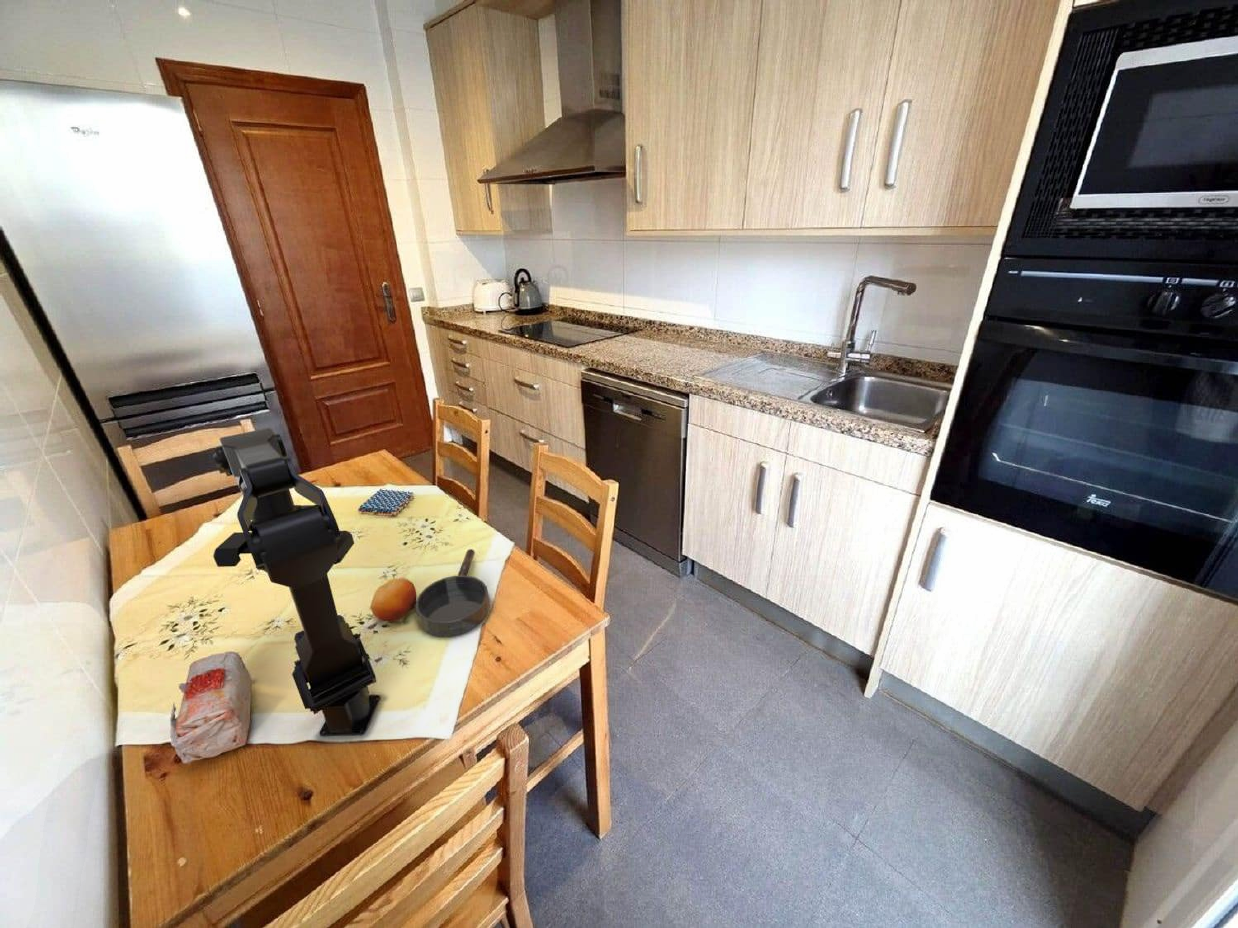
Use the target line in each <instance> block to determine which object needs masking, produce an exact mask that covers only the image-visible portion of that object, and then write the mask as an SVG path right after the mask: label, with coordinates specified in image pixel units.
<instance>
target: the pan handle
mask: <svg viewBox="0 0 1238 928" xmlns="http://www.w3.org/2000/svg"><path fill="white" fill-rule="evenodd" d="M475 554H476V552H475V550H474V549H472V548H470V549H467V551H466V552H465V555H464V558H463V560H462V563H461V564H460V568H459V571H458V573H457V576H464V575H466V576H469V573H470V569H471V566H472V563H473V561H474V558H475Z"/></svg>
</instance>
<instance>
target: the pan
mask: <svg viewBox="0 0 1238 928" xmlns="http://www.w3.org/2000/svg"><path fill="white" fill-rule="evenodd" d="M415 607H416V609H415V612H416V613H415V614H416V617H417V621H418V624H419V627H420V628H421V630H422V631H423V632H425V633H426V634H428V635H430V636H432V637H435V638H453V637H458V636H463V635H465V634H467V633H469V632H472V631H473V630H475V629H476V628H478V627H479V626H480V625H482V623H483V622H484V621H486V618H487V617H488V615H489V613H490V609H491V602H490V595H489V590H488V586H487V585H486V583H484V581H483V580H481V579H479V578H477V577H474V576H471V575H467V576H466V575H464V576H458V575H453V576H452V575H451V576H447V577H443V578H441V579H439V580H436V581H434V582H432V583H431V584H429V585H428V586H426V587H425V588H424V589H423V590H422V591H421V592H420V593H419V594H418V595H417V597H416V606H415Z"/></svg>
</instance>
